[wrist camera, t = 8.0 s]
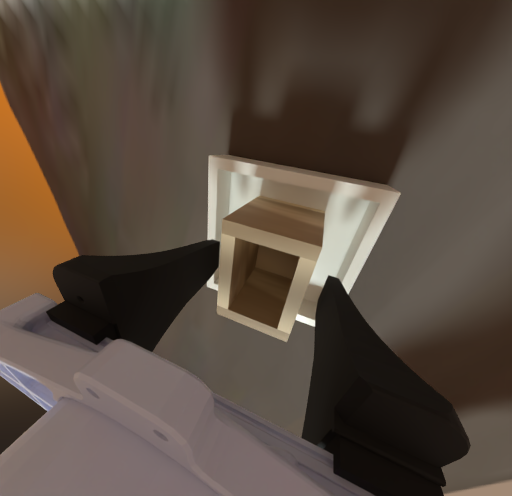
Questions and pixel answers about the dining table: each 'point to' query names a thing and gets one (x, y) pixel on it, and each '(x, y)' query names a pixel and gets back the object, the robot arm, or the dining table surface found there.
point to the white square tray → (310, 195)
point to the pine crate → (268, 263)
